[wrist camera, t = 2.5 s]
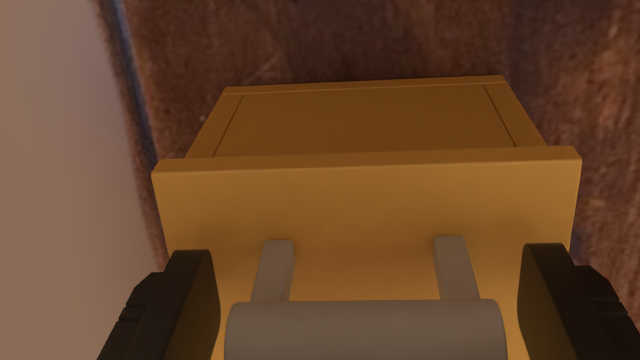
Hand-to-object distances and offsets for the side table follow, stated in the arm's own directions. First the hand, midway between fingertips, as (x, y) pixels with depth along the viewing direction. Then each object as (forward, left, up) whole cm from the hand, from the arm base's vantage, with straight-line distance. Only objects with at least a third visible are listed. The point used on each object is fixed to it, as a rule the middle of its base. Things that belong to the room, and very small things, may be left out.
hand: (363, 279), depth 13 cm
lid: (+4, +2, -2) cm, 5 cm away
